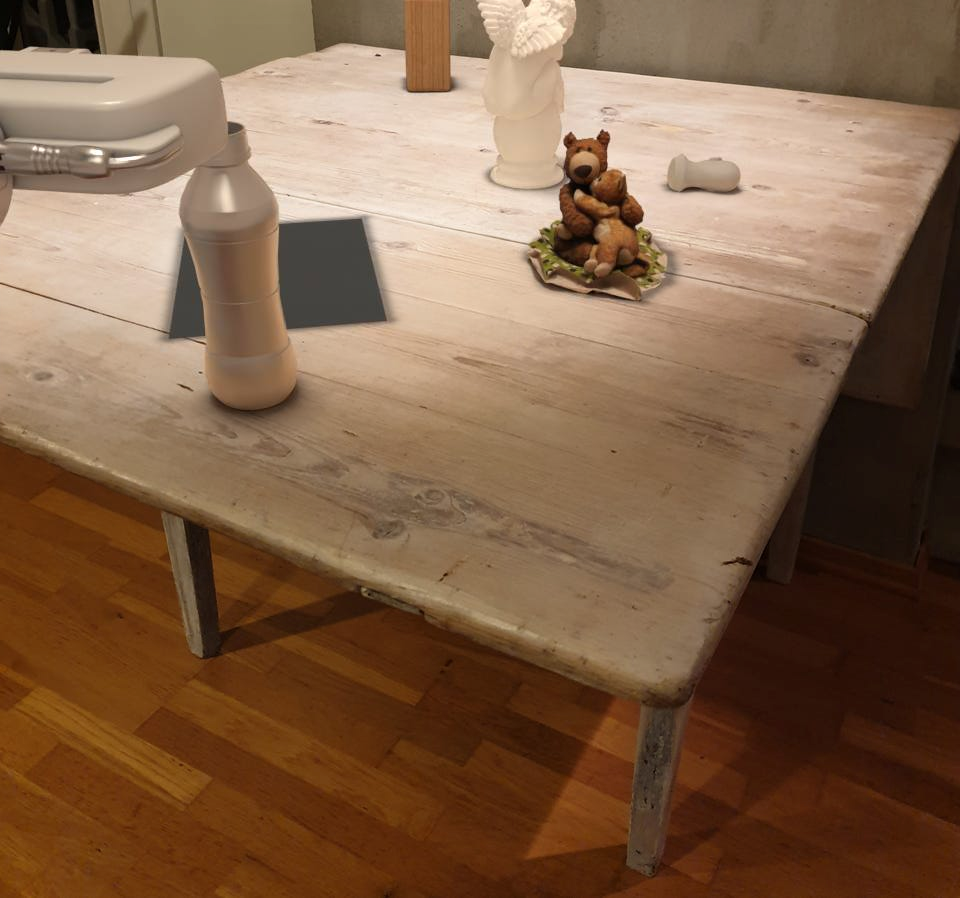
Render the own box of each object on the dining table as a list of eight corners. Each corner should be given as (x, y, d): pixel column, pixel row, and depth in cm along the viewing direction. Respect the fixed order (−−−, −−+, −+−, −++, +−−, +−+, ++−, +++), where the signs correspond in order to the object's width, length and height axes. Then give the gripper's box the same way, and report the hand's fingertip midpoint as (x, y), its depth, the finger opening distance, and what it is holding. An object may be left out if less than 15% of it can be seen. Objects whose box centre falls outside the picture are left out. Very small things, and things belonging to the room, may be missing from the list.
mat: (169, 344, 80) (168, 338, 79) (186, 234, 99) (185, 229, 99) (387, 325, 82) (387, 320, 82) (362, 222, 102) (361, 218, 102)
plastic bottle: (239, 370, 76) (198, 110, 65) (316, 385, 74) (288, 120, 63) (193, 411, 71) (139, 137, 60) (274, 428, 69) (235, 149, 58)
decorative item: (449, 81, 151) (447, -63, 140) (450, 92, 145) (449, -57, 134) (406, 81, 150) (401, -63, 139) (406, 92, 145) (401, -57, 134)
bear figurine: (514, 297, 87) (518, 162, 80) (537, 234, 99) (541, 113, 92) (668, 310, 85) (685, 173, 78) (671, 244, 97) (686, 121, 90)
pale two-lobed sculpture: (733, 196, 112) (740, 198, 107) (663, 191, 113) (667, 193, 108) (738, 157, 111) (745, 157, 106) (668, 153, 112) (672, 152, 107)
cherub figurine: (553, 163, 118) (562, -37, 106) (601, 196, 109) (618, -19, 96) (460, 175, 114) (459, -30, 102) (502, 211, 105) (506, -11, 92)
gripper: (125, 75, 32) (268, 0, 43) (-417, 52, 34) (-148, -13, 46) (160, 257, 35) (284, 143, 46) (-333, 223, 38) (-103, 123, 49)
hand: (67, 65), depth 46 cm, fingers closed
